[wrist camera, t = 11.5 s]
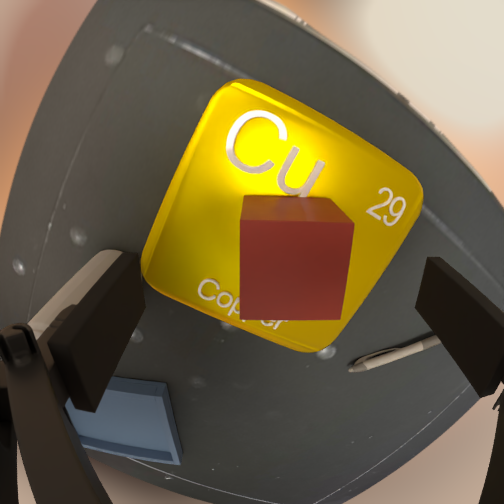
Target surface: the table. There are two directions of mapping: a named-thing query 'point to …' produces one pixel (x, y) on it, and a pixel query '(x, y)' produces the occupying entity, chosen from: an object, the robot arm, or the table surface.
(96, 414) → the slate tray
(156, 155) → the table surface
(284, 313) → the red block
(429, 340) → the pen
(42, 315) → the beverage can
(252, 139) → the element tile
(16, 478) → the robot arm
